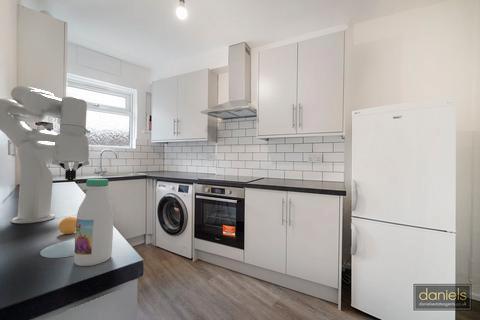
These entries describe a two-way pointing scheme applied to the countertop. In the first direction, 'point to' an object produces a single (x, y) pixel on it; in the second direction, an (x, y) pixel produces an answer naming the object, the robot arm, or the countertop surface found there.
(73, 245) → the disc
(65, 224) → the ball
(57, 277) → the countertop surface
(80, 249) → the milk bottle
